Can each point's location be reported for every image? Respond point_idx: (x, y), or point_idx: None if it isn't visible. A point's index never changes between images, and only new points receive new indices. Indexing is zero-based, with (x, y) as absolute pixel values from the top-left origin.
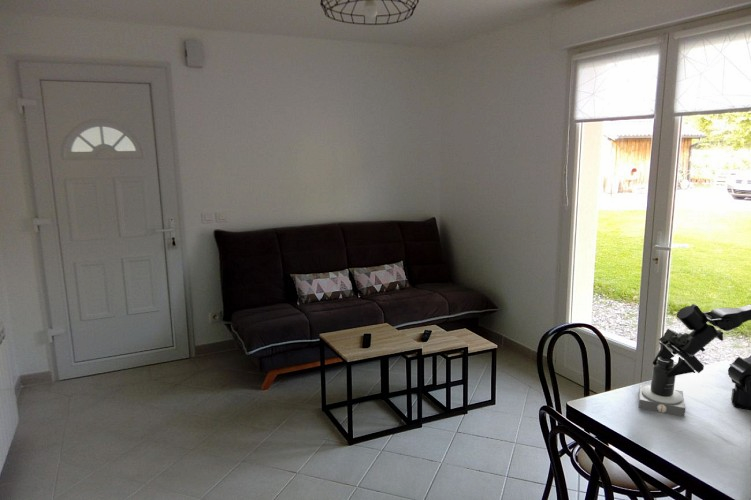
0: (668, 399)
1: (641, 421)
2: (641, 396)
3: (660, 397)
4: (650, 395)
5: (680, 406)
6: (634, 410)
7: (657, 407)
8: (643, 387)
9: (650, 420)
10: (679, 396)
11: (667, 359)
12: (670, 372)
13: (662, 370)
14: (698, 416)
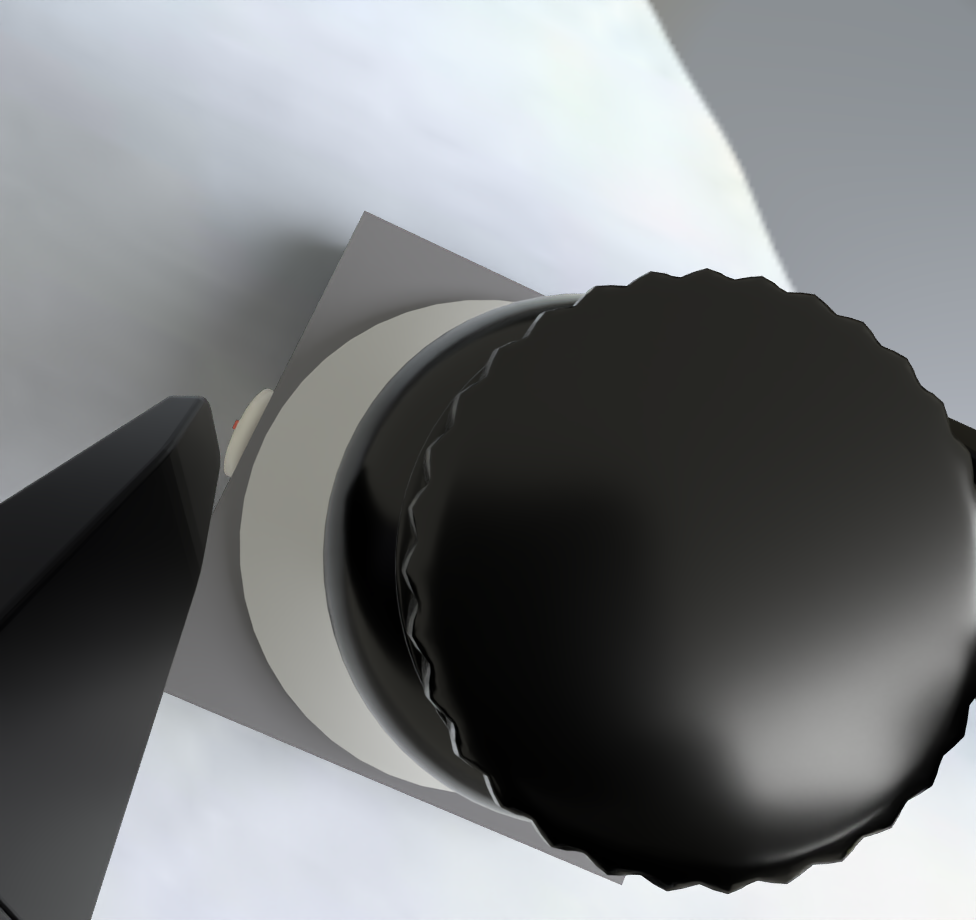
0: (308, 537)
1: (78, 145)
2: (449, 269)
3: None
4: (417, 351)
5: None
6: (316, 184)
7: (269, 390)
8: None
9: (98, 246)
10: None
11: (704, 637)
12: (81, 461)
13: (406, 392)
14: (182, 829)
